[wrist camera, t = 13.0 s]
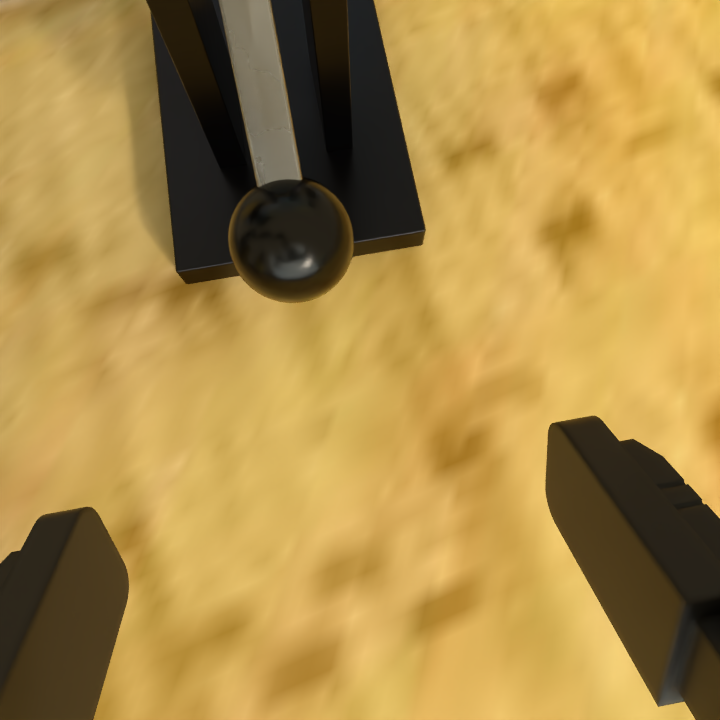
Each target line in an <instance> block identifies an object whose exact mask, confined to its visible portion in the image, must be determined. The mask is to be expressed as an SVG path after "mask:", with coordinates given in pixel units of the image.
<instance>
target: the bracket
mask: <svg viewBox="0 0 720 720" xmlns="http://www.w3.org/2000/svg"><path fill="white" fill-rule="evenodd" d="M146 2H147V4H148V6H149V8H150V11H151V21H152V31H153V42H154V52H155V62H156V72H157V82H158V92H159V103H160V113H161V123H162V133H163V143H164V154H165V164H166V174H167V184H168V194H169V204H170V215H171V225H172V235H173V245H174V255H175V265H176V272H177V273H178V274H179V276H180V277H181V278H182V279H183V280H184V282H185V283H186V284H191V283H197V282H203V281H209V280H215V279H221V278H227V277H233V276H239V273H238V271H237V270H236V268H235V266H234V264H233V261H232V259H231V256H230V252H229V247H228V227H229V223H230V219H231V216H232V213H233V211H234V209H235V207H236V205H237V203H238V202H239V200H240V199H241V198H242V196H243V195H244V194H245V193H246V192H247V191H248V190H249V189H251V188H252V187H253V186H255V185H256V184H257V183H256V179H255V174H254V169H253V164H252V159H251V155H250V150H249V145H248V140H247V135H246V131H245V126H244V121H243V116H242V111H241V106H240V102H239V97H238V92H237V87H236V82H235V78H234V73H233V68H232V63H231V58H230V54H229V49H228V44H227V39H226V34H225V30H224V25H223V20H222V15H221V10H220V6H219V1H218V0H146ZM271 3H272V8H273V14H274V20H275V25H276V31H277V36H278V42H279V48H280V53H281V59H282V64H283V70H284V76H285V81H286V87H287V93H288V98H289V104H290V109H291V115H292V121H293V126H294V132H295V137H296V143H297V149H298V154H299V160H300V166H301V171H302V176H304V177H307V178H310V179H313V180H315V181H317V182H320V183H321V184H323V185H324V186H326V187H327V188H329V189H330V190H331V191H332V192H333V193H334V194H335V195H336V196H337V197H338V198H339V199H340V200H341V202H342V203H343V205H344V206H345V208H346V210H347V212H348V214H349V217H350V219H351V222H352V227H353V232H354V250H353V255H352V257H353V256H359V255H365V254H371V253H377V252H383V251H389V250H395V249H401V248H407V247H413V246H419V245H422V244H423V239H424V235H425V230H426V229H425V224H424V220H423V216H422V211H421V207H420V202H419V198H418V194H417V189H416V185H415V180H414V176H413V172H412V167H411V163H410V158H409V154H408V150H407V145H406V141H405V136H404V132H403V128H402V123H401V119H400V114H399V110H398V106H397V101H396V97H395V92H394V88H393V84H392V79H391V75H390V70H389V66H388V62H387V57H386V53H385V48H384V44H383V40H382V35H381V31H380V26H379V22H378V18H377V13H376V9H375V4H374V0H271Z"/></svg>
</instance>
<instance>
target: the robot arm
mask: <svg viewBox="0 0 720 720" xmlns="http://www.w3.org/2000/svg"><path fill="white" fill-rule="evenodd" d="M546 497H547V502H548V506H549V509H550V512H551V515H552V517H553V520H554V522H555V524H556V526H557V527H558V529H559V531H560V533H561V534H562V536H563V538H564V540H565V542H566V543H567V545H568V547H569V549H570V550H571V552H572V554H573V556H574V558H575V559H576V561H577V563H578V565H579V566H580V568H581V570H582V572H583V574H584V575H585V577H586V579H587V581H588V582H589V584H590V586H591V588H592V590H593V591H594V593H595V595H596V597H597V599H598V600H599V602H600V604H601V606H602V607H603V609H604V611H605V613H606V615H607V616H608V618H609V620H610V622H611V623H612V625H613V627H614V629H615V631H616V632H617V634H618V636H619V638H620V639H621V641H622V643H623V645H624V647H625V648H626V650H627V652H628V654H629V656H630V657H631V659H632V661H633V663H634V664H635V666H636V668H637V670H638V672H639V673H640V675H641V677H642V679H643V680H644V682H645V684H646V686H647V688H648V689H649V691H650V693H651V695H652V696H653V698H654V700H655V702H656V704H657V705H658V707H659V706H664V705H669V704H674V703H679V702H684V701H685V703H686V704H687V706H688V708H689V709H690V711H691V713H692V714H693V716H694V718H695V719H696V720H720V519H719V517H718V516H717V515H716V514H715V513H714V512H713V511H712V510H711V509H710V508H709V507H708V505H707V504H705V505H704V504H703V503H702V499H701V498H700V497H699V496H698V494H697V493H696V492H695V491H694V490H693V489H692V488H691V487H690V486H689V485H688V484H687V485H686V484H685V483H684V479H683V478H682V477H681V476H680V475H679V474H678V473H677V471H676V470H675V469H674V468H673V467H672V466H671V465H670V464H669V463H668V462H667V461H666V459H665V458H664V457H663V456H661V455H659V454H658V453H656V452H654V451H653V450H651V449H649V448H648V447H646V446H644V445H642V444H641V443H639V442H637V441H636V440H634V439H630V440H625V441H619V440H618V439H617V438H616V437H615V436H614V434H613V433H612V432H611V431H610V430H609V428H608V427H607V426H606V425H605V424H604V422H603V421H602V420H601V419H600V418H598V417H597V416H588V417H583V418H577V419H572V420H567V421H561V422H556V423H552V424H551V425H550V427H549V430H548V445H547V465H546ZM128 592H129V581H128V573H127V569H126V566H125V564H124V562H123V560H122V558H121V556H120V554H119V552H118V550H117V548H116V547H115V545H114V543H113V541H112V539H111V537H110V535H109V533H108V532H107V530H106V528H105V526H104V524H103V522H102V520H101V518H100V516H99V515H98V513H97V512H96V511H95V509H93V508H91V507H83V508H78V509H73V510H67V511H62V512H56V513H51V514H45V515H42V516H41V517H40V518H39V519H38V520H37V521H36V523H35V524H34V526H33V528H32V530H31V532H30V534H29V536H28V537H27V539H26V541H25V543H24V545H23V547H22V549H21V551H16V552H11V553H10V554H9V555H8V556H7V557H6V559H5V560H4V561H3V562H2V563H1V564H0V720H93V719H94V715H95V712H96V708H97V705H98V701H99V698H100V694H101V691H102V687H103V684H104V680H105V677H106V673H107V670H108V666H109V663H110V659H111V656H112V652H113V649H114V645H115V642H116V638H117V635H118V631H119V628H120V624H121V621H122V617H123V614H124V611H125V607H126V604H127V599H128Z"/></svg>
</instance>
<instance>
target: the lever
mask: <svg viewBox="0 0 720 720" xmlns="http://www.w3.org/2000/svg"><path fill="white" fill-rule="evenodd" d="M218 1H219V6H220V10H221V15H222V20H223V25H224V30H225V34H226V39H227V44H228V49H229V54H230V58H231V63H232V68H233V73H234V78H235V82H236V87H237V92H238V97H239V102H240V106H241V111H242V116H243V121H244V126H245V131H246V135H247V140H248V145H249V150H250V155H251V159H252V164H253V169H254V174H255V179H256V183H257V184H256V185H255V186H253V187H252V188H251V189H249V190H248V191H247V192H246V193H245V194H244V195H243V196H242V198H241V199H240V200H239V202H238V203H237V205H236V207H235V209H234V211H233V213H232V216H231V219H230V223H229V227H228V247H229V252H230V256H231V259H232V261H233V264H234V266H235V268H236V270H237V271H238V273H239V275H240V276H241V277H242V279H243V280H244V281H245V282H246V283H247V284H248V285H249V286H250V287H251V288H252V289H253V290H255V291H256V292H257V293H259V294H261V295H263V296H264V297H267V298H269V299H271V300H275V301H278V302H284V303H301V302H306V301H311V300H313V299H316V298H318V297H320V296H322V295H324V294H326V293H327V292H328V291H330V290H331V289H332V288H333V287H334V286H335V285H337V284H338V282H339V281H340V280H341V279H342V277H343V276H344V274H345V273H346V271H347V269H348V267H349V265H350V262H351V259H352V255H353V250H354V232H353V227H352V222H351V219H350V217H349V214H348V212H347V210H346V208H345V206H344V205H343V203H342V202H341V200H340V199H339V198H338V197H337V196H336V195H335V194H334V193H333V192H332V191H331V190H330V189H329V188H327V187H326V186H324V185H323V184H321V183H320V182H317V181H315V180H313V179H310V178H307V177H304V176H302V171H301V166H300V160H299V154H298V149H297V143H296V137H295V132H294V126H293V121H292V115H291V109H290V104H289V98H288V93H287V87H286V81H285V76H284V70H283V64H282V59H281V53H280V48H279V42H278V36H277V31H276V25H275V20H274V14H273V8H272V3H271V0H218Z"/></svg>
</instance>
